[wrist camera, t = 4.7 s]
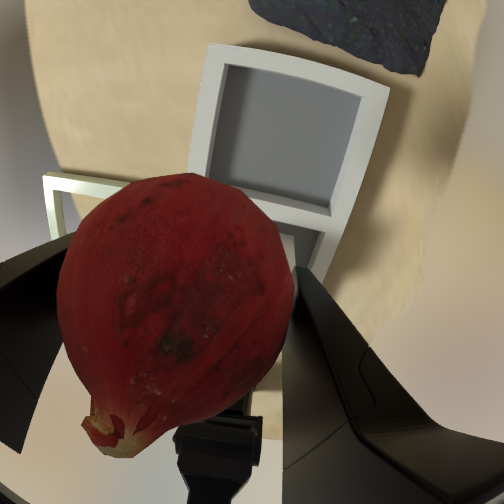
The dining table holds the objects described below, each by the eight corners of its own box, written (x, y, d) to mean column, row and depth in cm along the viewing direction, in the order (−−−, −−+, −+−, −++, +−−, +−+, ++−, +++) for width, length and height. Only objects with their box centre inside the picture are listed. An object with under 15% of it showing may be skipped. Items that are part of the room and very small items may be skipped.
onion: (198, 107, 8) (-54, 247, 1) (323, 227, 10) (368, 478, 3) (109, 223, 10) (-15, 388, 4) (215, 308, 12) (172, 491, 6)
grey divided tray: (300, 308, 26) (301, 327, 24) (184, 284, 26) (177, 302, 24) (377, 87, 15) (390, 88, 13) (217, 48, 15) (208, 42, 13)
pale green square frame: (195, 335, 30) (193, 343, 29) (72, 298, 29) (68, 304, 28) (212, 197, 21) (208, 203, 20) (50, 171, 20) (42, 175, 19)
